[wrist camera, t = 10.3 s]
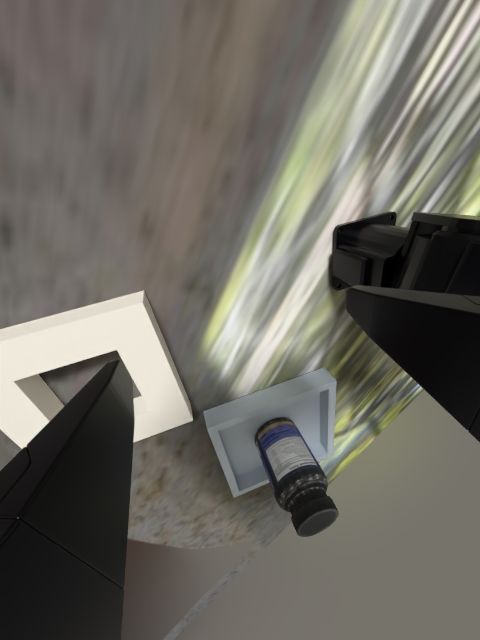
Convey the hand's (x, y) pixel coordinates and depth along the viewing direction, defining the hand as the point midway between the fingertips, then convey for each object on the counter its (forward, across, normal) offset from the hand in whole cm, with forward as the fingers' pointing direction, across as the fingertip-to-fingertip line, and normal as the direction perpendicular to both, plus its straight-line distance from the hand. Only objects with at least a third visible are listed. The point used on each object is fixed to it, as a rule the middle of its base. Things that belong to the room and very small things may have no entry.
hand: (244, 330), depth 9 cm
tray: (+13, -4, +26) cm, 29 cm away
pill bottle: (+13, -4, +26) cm, 29 cm away
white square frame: (+13, +12, +9) cm, 20 cm away
